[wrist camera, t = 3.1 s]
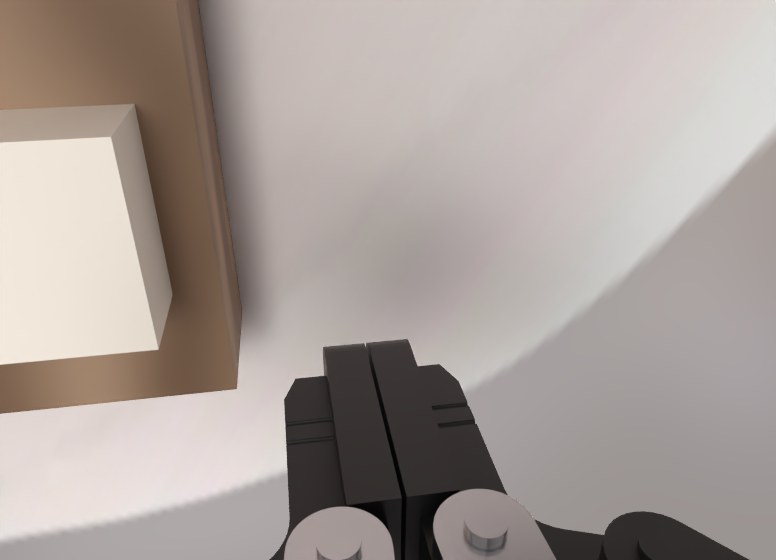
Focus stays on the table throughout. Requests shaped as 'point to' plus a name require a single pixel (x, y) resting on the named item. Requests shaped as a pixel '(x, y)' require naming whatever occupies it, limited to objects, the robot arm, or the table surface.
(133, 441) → the table surface
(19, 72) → the wood grain slab
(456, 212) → the table surface
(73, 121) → the cream tile
